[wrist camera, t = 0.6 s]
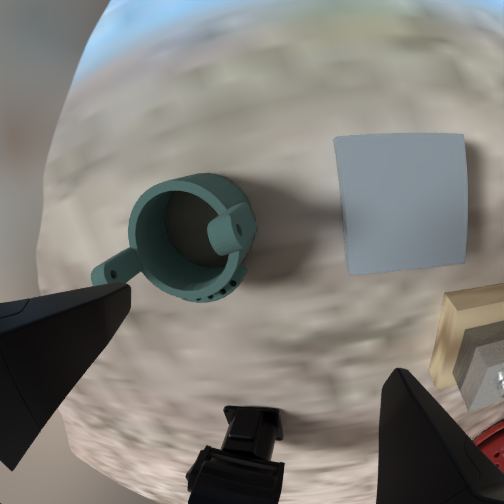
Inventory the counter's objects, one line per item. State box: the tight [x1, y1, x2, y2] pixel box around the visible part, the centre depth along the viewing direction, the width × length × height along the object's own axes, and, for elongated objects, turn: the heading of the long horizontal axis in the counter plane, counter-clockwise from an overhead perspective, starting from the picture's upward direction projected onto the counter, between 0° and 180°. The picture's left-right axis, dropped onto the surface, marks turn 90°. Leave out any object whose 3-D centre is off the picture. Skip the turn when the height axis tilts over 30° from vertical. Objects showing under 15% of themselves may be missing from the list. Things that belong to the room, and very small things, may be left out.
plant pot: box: [473, 421, 504, 473], centre depth 19 cm, size 13×13×12 cm
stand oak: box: [429, 283, 504, 390], centre depth 19 cm, size 9×9×3 cm
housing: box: [452, 320, 504, 411], centre depth 15 cm, size 5×6×6 cm
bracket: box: [91, 173, 257, 303], centre depth 19 cm, size 9×9×9 cm
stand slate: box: [333, 133, 468, 275], centre depth 17 cm, size 9×9×3 cm
